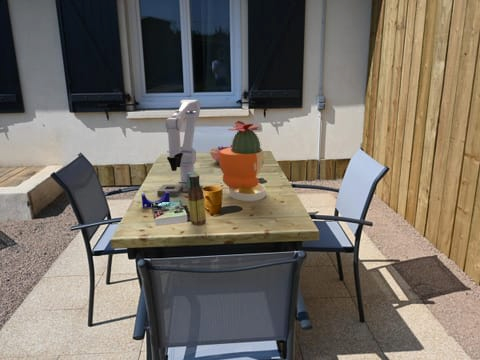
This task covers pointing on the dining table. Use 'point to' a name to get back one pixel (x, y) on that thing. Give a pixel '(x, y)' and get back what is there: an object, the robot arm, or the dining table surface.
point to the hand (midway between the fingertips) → (176, 168)
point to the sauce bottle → (196, 201)
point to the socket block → (170, 190)
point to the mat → (186, 189)
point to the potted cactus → (243, 164)
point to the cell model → (217, 152)
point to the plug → (188, 179)
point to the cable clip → (148, 203)
